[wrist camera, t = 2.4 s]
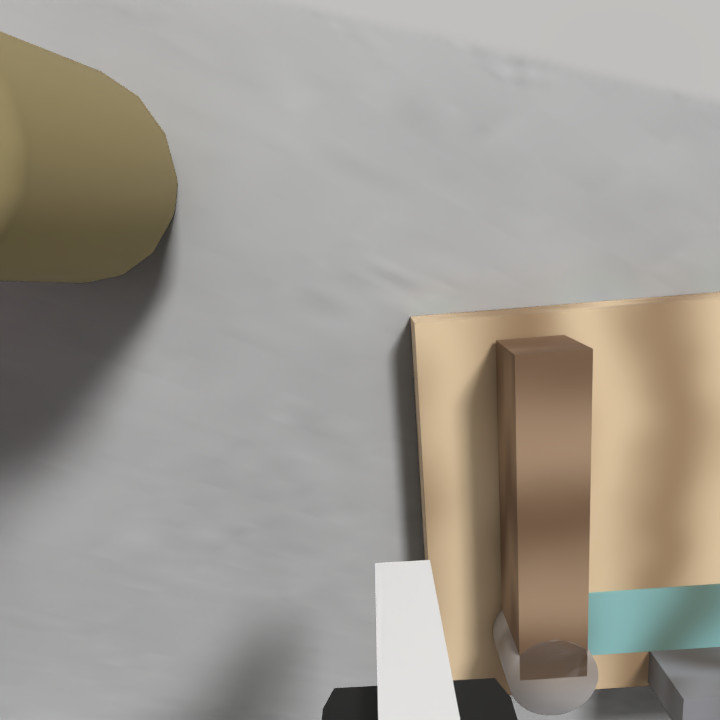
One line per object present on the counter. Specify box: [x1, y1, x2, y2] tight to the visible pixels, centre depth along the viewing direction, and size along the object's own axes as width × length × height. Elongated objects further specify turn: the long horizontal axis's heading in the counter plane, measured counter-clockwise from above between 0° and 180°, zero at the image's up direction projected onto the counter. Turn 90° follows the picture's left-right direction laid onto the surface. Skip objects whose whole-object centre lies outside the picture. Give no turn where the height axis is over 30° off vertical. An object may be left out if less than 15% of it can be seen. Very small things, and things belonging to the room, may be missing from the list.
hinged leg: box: [493, 335, 598, 715], centre depth 24 cm, size 17×4×3 cm, turn 5°
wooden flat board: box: [410, 292, 720, 720], centre depth 25 cm, size 22×20×5 cm
